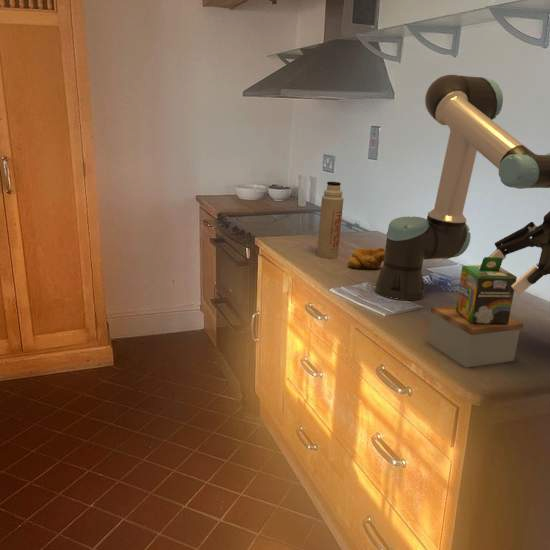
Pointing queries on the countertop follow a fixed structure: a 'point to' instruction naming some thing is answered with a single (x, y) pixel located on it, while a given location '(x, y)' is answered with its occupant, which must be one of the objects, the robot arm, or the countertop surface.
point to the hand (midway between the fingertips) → (496, 281)
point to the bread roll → (367, 258)
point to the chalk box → (486, 293)
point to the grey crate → (472, 343)
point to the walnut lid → (461, 322)
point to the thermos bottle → (330, 221)
